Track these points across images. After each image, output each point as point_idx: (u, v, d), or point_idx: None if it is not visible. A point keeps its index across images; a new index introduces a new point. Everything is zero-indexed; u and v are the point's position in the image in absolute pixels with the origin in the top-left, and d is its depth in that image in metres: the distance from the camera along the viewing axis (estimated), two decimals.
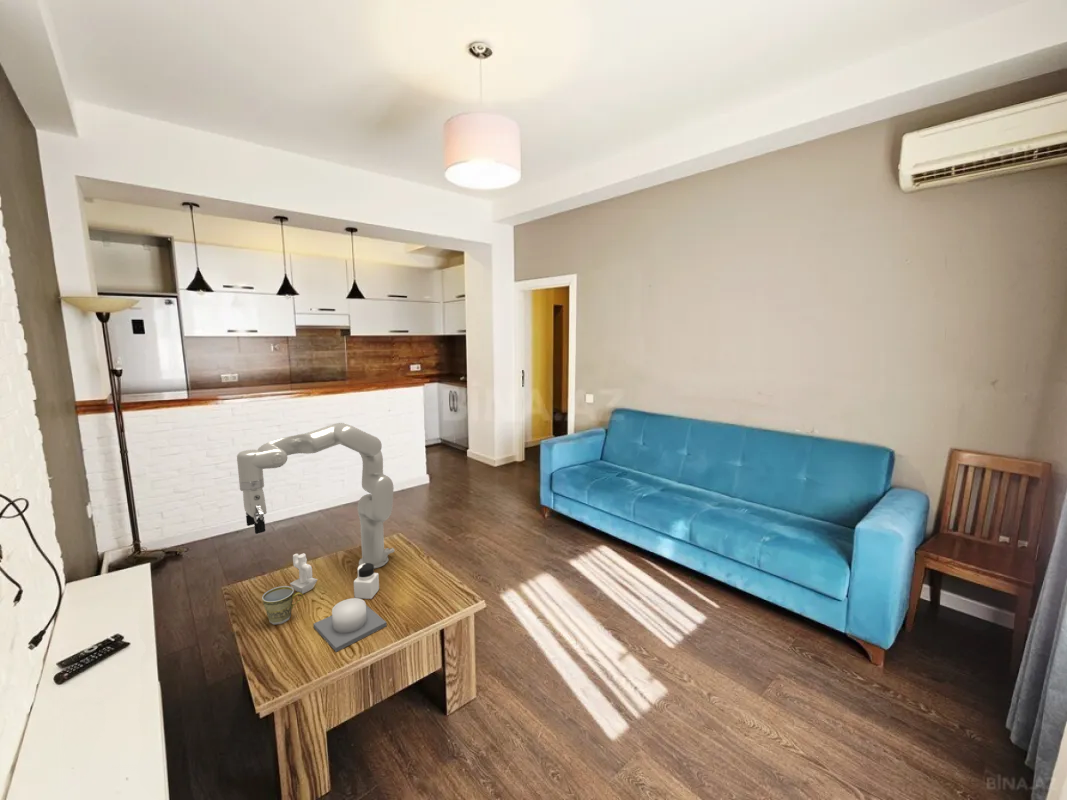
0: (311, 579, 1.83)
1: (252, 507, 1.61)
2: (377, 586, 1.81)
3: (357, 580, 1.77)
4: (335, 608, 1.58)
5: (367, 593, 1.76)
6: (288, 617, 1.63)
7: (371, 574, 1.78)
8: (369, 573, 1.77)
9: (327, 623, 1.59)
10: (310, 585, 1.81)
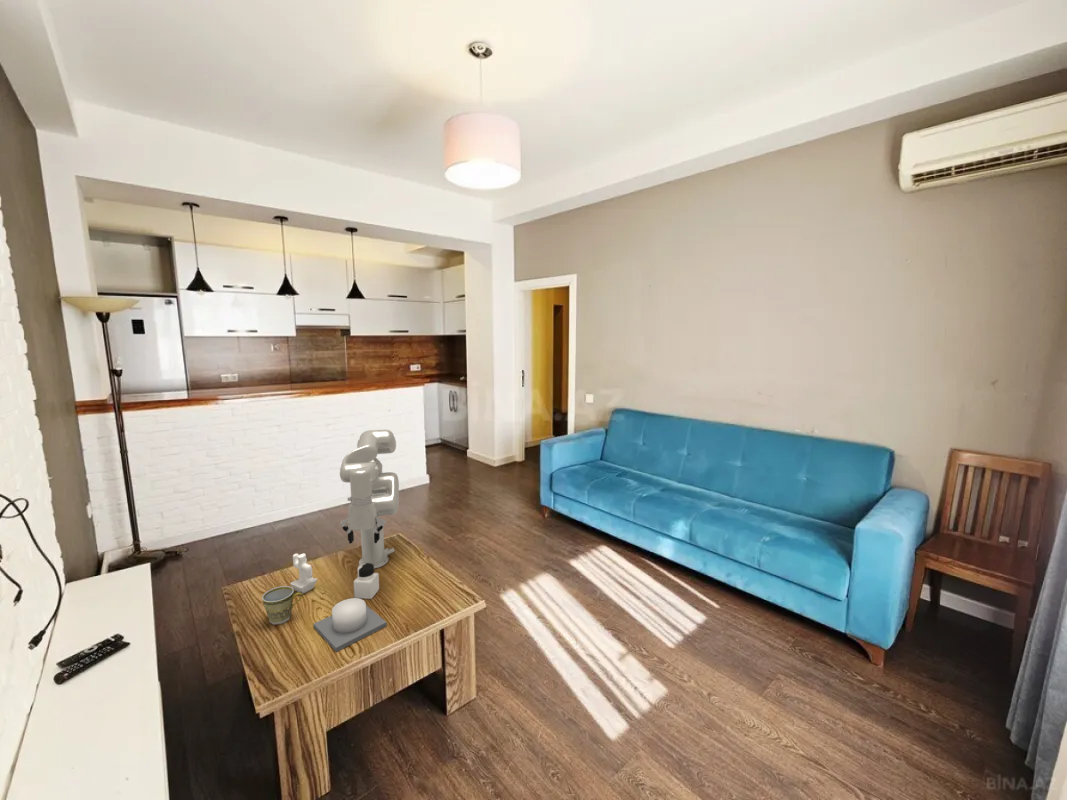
0: (311, 579, 1.83)
1: None
2: (377, 586, 1.81)
3: (357, 580, 1.77)
4: (335, 608, 1.58)
5: (367, 593, 1.76)
6: (288, 617, 1.63)
7: (371, 574, 1.78)
8: (369, 573, 1.77)
9: (327, 623, 1.59)
10: (310, 585, 1.81)
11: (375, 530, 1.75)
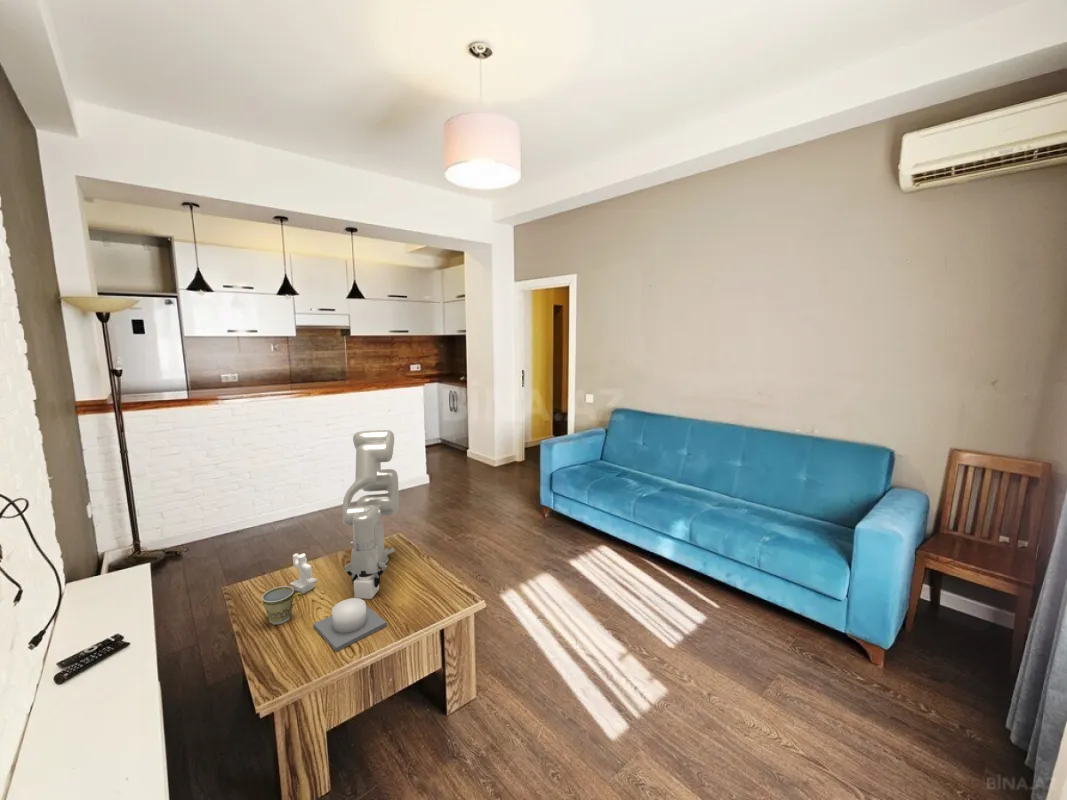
0: (311, 579, 1.83)
1: None
2: None
3: (357, 580, 1.76)
4: (335, 608, 1.58)
5: (367, 593, 1.76)
6: (288, 617, 1.63)
7: (371, 574, 1.77)
8: None
9: (327, 623, 1.59)
10: (310, 585, 1.81)
11: (376, 575, 1.78)
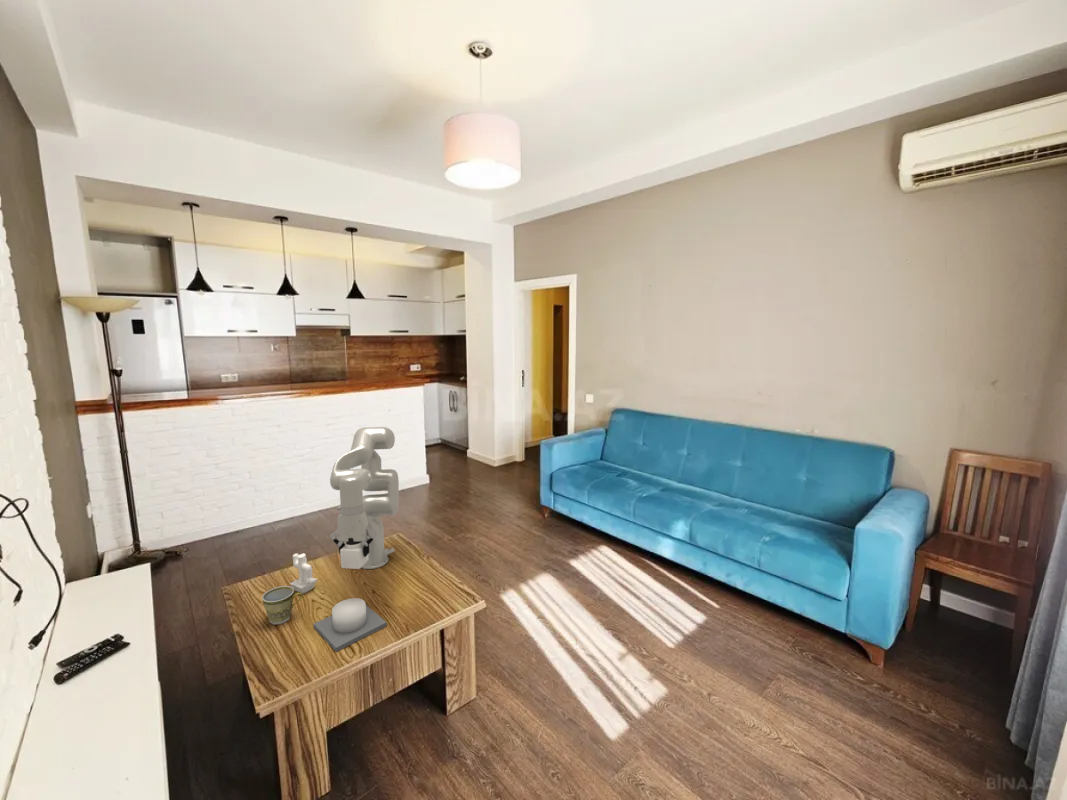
0: (311, 579, 1.83)
1: None
2: (366, 556, 1.67)
3: (344, 548, 1.62)
4: (335, 608, 1.58)
5: (355, 562, 1.62)
6: (288, 617, 1.63)
7: (359, 542, 1.63)
8: None
9: (327, 623, 1.59)
10: (310, 585, 1.81)
11: (365, 543, 1.63)
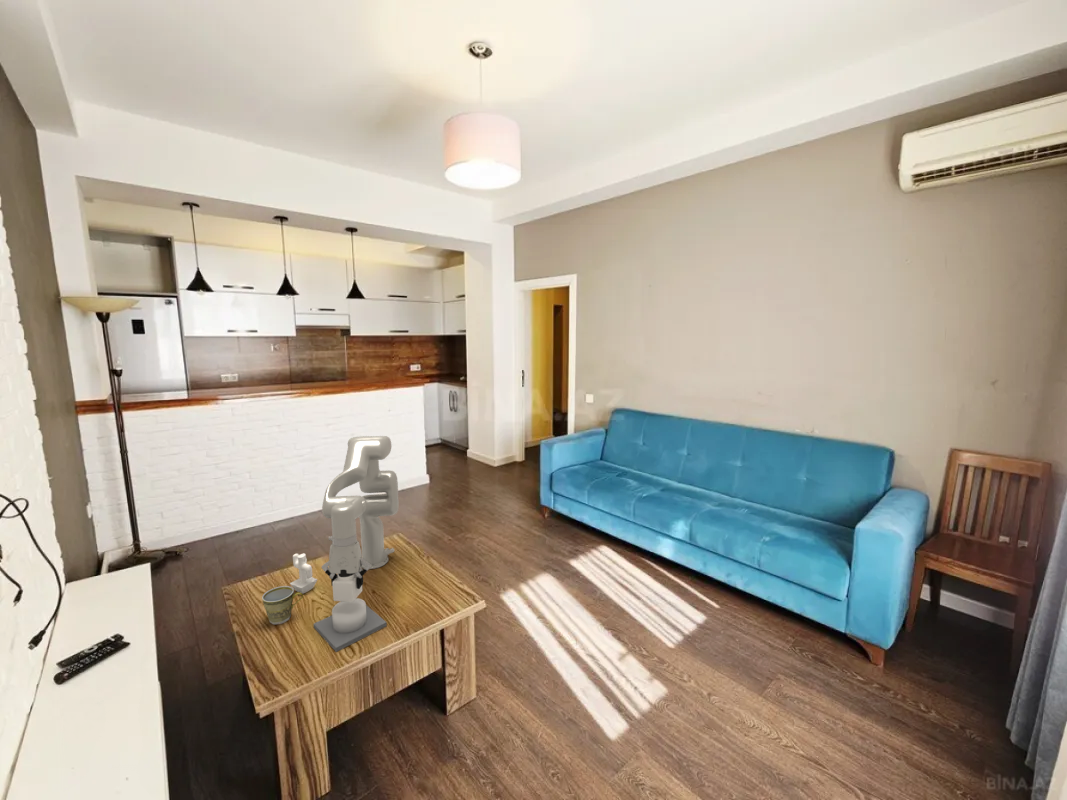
0: (311, 579, 1.83)
1: None
2: (360, 587, 1.59)
3: (336, 580, 1.54)
4: (335, 608, 1.58)
5: (348, 595, 1.54)
6: (288, 617, 1.63)
7: (353, 574, 1.55)
8: None
9: (327, 623, 1.59)
10: (310, 585, 1.81)
11: (358, 574, 1.56)
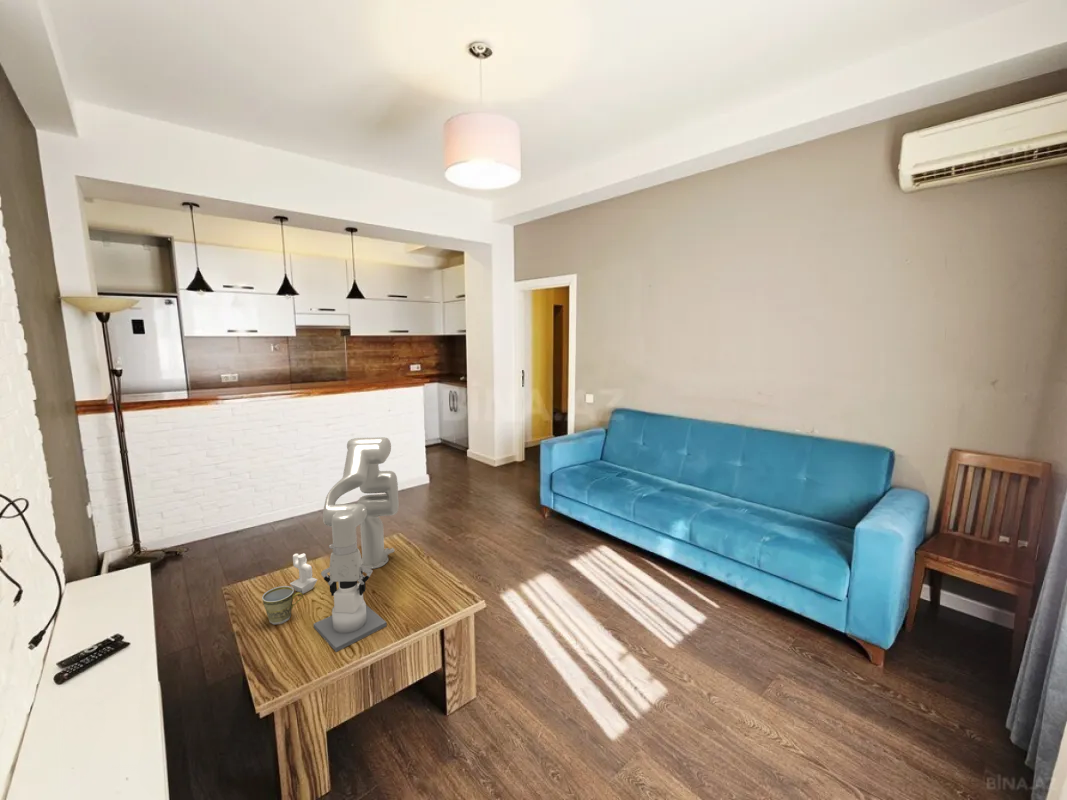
0: (311, 579, 1.83)
1: None
2: (361, 598, 1.60)
3: (338, 592, 1.55)
4: None
5: (349, 606, 1.55)
6: (288, 617, 1.63)
7: (354, 585, 1.56)
8: (351, 584, 1.56)
9: (327, 623, 1.59)
10: (310, 585, 1.81)
11: (360, 581, 1.56)
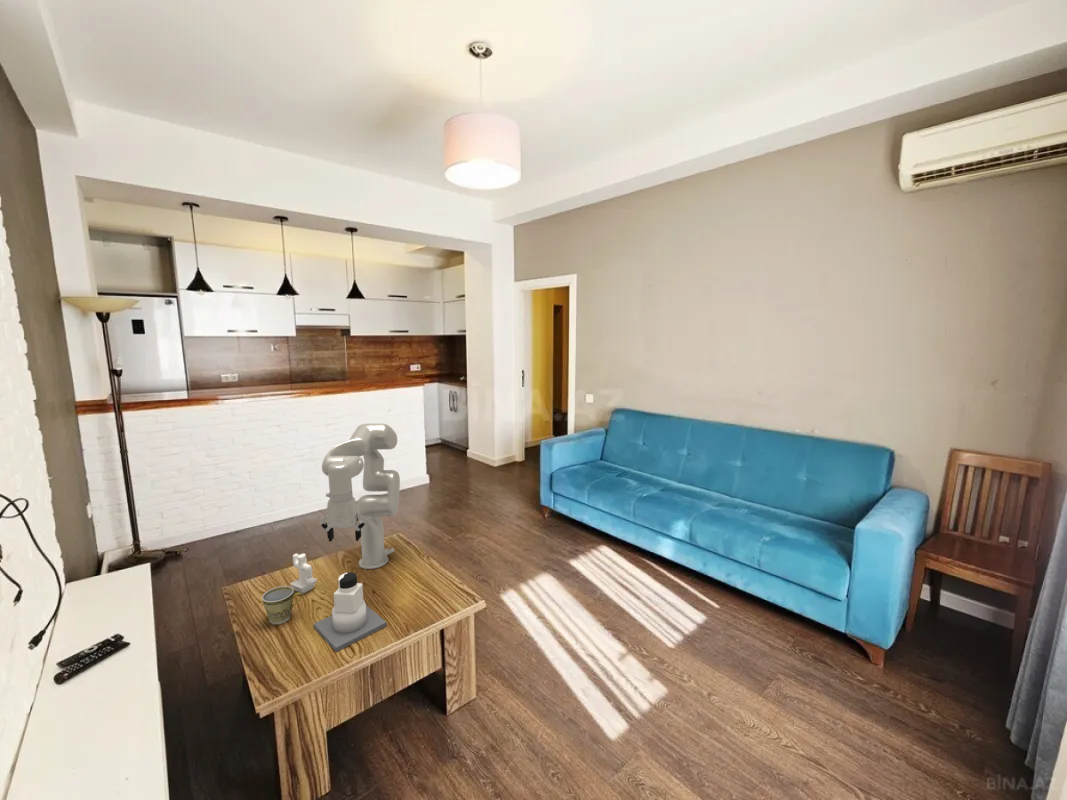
0: (311, 579, 1.83)
1: None
2: (361, 598, 1.60)
3: (338, 592, 1.55)
4: None
5: (349, 606, 1.55)
6: (288, 617, 1.63)
7: (354, 585, 1.56)
8: (351, 584, 1.56)
9: (327, 623, 1.59)
10: (310, 585, 1.81)
11: (356, 527, 1.65)
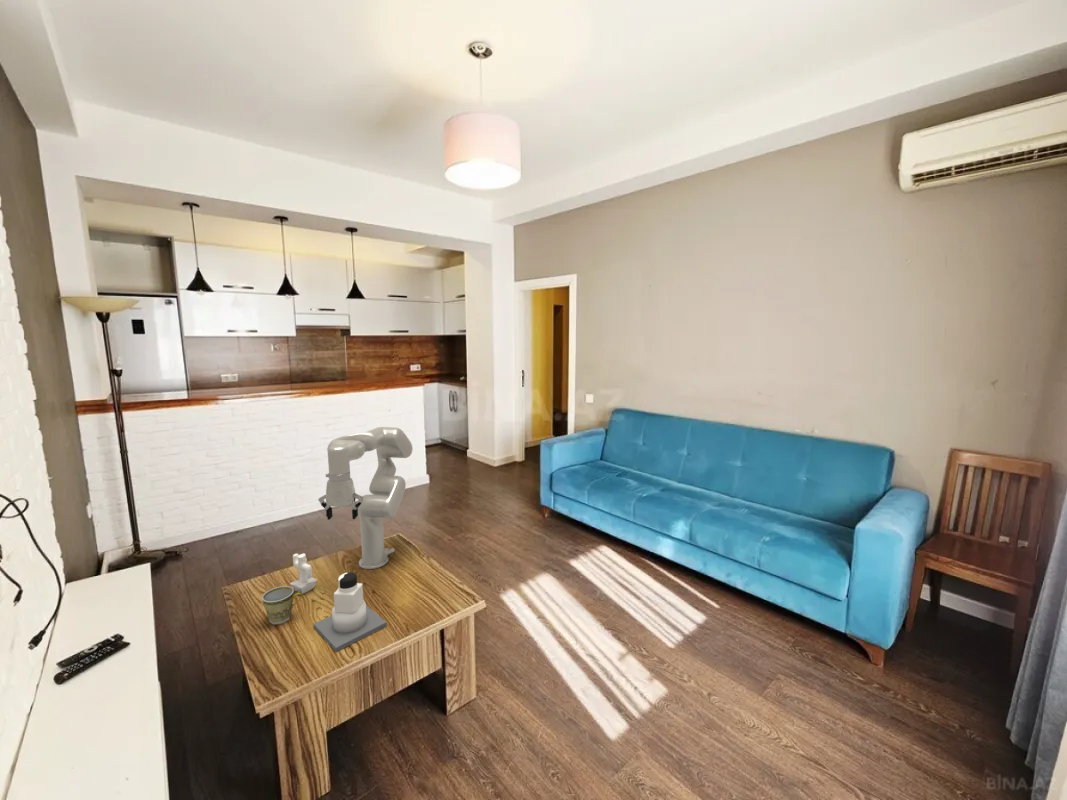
0: (311, 579, 1.83)
1: None
2: (361, 598, 1.60)
3: (338, 592, 1.55)
4: None
5: (349, 606, 1.55)
6: (288, 617, 1.63)
7: (354, 585, 1.56)
8: (351, 584, 1.56)
9: (327, 623, 1.59)
10: (310, 585, 1.81)
11: (353, 506, 1.77)
